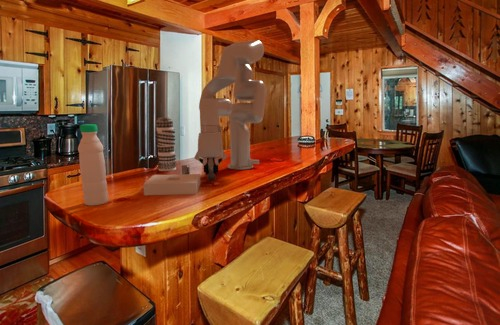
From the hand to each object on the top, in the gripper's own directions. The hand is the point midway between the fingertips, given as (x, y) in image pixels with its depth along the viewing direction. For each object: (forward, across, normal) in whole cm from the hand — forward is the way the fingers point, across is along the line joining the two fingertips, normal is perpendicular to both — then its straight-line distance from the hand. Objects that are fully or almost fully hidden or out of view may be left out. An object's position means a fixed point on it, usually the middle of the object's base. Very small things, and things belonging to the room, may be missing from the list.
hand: (211, 173), depth 125 cm
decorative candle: (+3, +23, -24) cm, 33 cm away
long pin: (+3, 0, 0) cm, 3 cm away
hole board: (+3, +13, +13) cm, 19 cm away
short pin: (+3, +11, -4) cm, 12 cm away
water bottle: (+3, +35, +27) cm, 44 cm away
